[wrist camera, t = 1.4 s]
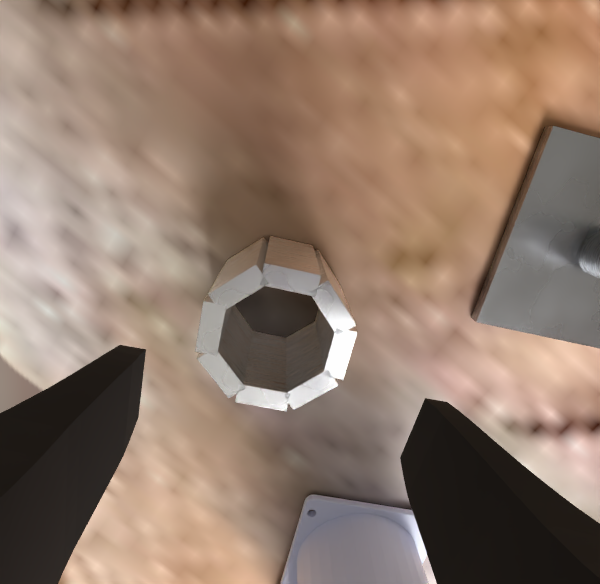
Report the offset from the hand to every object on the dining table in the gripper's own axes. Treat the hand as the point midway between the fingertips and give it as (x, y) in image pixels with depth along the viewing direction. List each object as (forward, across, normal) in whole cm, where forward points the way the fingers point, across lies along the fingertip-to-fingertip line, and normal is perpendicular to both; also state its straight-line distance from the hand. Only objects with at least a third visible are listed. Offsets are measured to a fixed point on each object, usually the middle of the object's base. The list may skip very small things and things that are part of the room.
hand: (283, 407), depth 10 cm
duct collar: (+10, 0, +1) cm, 10 cm away
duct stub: (+10, -14, -4) cm, 18 cm away
